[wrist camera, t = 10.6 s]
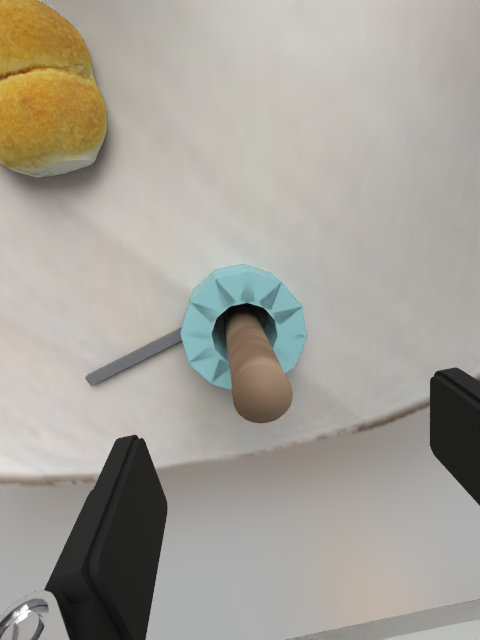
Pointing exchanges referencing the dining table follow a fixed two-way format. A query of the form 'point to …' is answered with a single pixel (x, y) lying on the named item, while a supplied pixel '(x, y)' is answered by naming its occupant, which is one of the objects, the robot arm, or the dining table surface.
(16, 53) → the bread roll
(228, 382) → the bead
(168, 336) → the thin grey bar
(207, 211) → the dining table surface
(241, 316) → the round-ended wooden dowel
